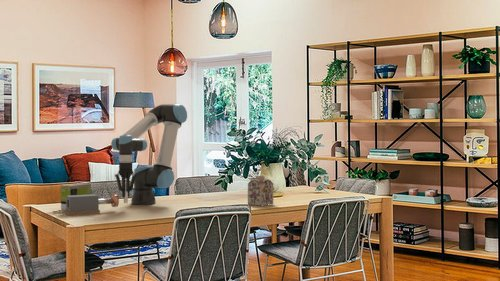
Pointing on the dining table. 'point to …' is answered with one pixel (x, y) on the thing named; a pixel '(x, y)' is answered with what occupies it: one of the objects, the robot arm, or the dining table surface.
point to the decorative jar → (260, 191)
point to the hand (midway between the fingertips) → (125, 202)
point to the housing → (82, 205)
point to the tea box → (73, 191)
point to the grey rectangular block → (110, 201)
